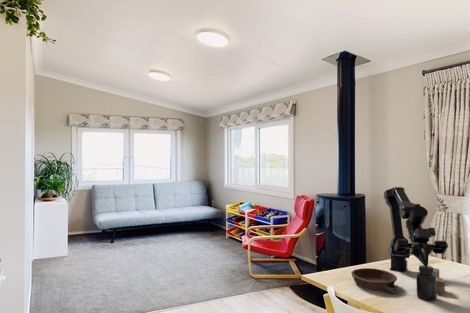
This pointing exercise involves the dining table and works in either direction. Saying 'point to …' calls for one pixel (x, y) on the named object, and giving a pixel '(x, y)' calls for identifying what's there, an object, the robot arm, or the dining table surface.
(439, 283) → the walnut block near bottle
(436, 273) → the walnut block far
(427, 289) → the supplement bottle
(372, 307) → the dining table surface
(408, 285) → the dining table surface
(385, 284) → the dish
